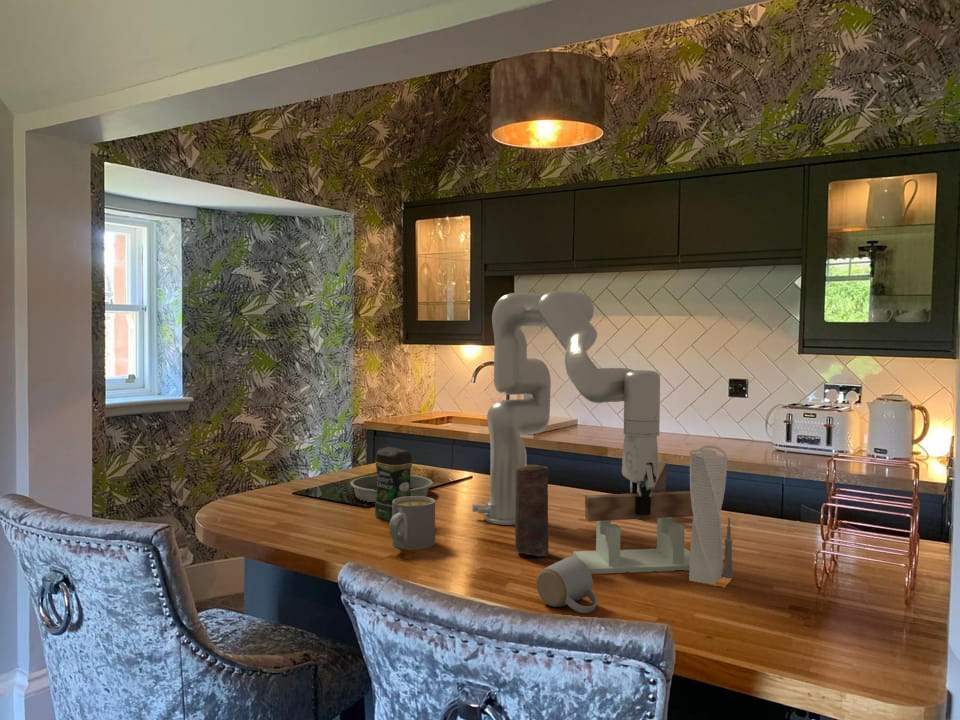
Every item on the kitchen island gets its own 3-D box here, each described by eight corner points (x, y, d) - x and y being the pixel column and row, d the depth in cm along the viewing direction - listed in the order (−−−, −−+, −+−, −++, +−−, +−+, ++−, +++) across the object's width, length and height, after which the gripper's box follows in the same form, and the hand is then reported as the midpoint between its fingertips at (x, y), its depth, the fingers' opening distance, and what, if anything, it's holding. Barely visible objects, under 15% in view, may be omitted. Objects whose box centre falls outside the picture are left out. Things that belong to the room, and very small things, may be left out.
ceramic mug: (532, 602, 132) (533, 561, 131) (560, 591, 137) (561, 551, 137) (579, 620, 124) (580, 576, 124) (606, 607, 130) (608, 566, 130)
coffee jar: (369, 517, 191) (370, 447, 190) (392, 511, 197) (392, 444, 196) (394, 523, 185) (394, 451, 184) (416, 518, 190) (417, 448, 190)
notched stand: (588, 573, 148) (589, 530, 147) (572, 555, 159) (573, 515, 159) (708, 569, 151) (709, 527, 151) (684, 552, 163) (685, 512, 163)
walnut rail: (588, 521, 152) (588, 497, 152) (585, 518, 154) (585, 495, 154) (696, 516, 155) (696, 493, 155) (691, 513, 158) (691, 490, 157)
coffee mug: (414, 534, 175) (414, 494, 174) (443, 543, 168) (444, 500, 168) (371, 546, 165) (372, 503, 164) (401, 556, 158) (401, 511, 158)
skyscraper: (723, 591, 139) (726, 448, 138) (681, 583, 143) (684, 444, 142) (733, 579, 146) (736, 442, 145) (693, 572, 150) (696, 439, 149)
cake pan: (429, 506, 204) (429, 491, 204) (342, 505, 204) (342, 489, 204) (435, 488, 229) (435, 473, 228) (358, 486, 229) (358, 472, 229)
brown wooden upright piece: (665, 514, 198) (666, 449, 197) (644, 520, 190) (645, 453, 189) (653, 511, 200) (655, 447, 200) (632, 518, 193) (633, 451, 192)
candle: (525, 561, 155) (526, 469, 154) (508, 552, 162) (509, 463, 161) (554, 556, 159) (556, 466, 158) (537, 547, 165) (538, 461, 164)
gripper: (612, 423, 162) (611, 504, 162) (637, 433, 146) (636, 523, 146) (644, 423, 163) (643, 504, 163) (673, 432, 147) (671, 522, 147)
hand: (640, 512), depth 155 cm, fingers closed on walnut rail, 2 cm apart
